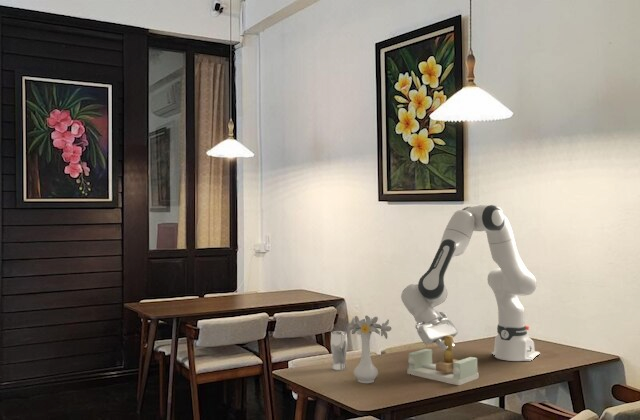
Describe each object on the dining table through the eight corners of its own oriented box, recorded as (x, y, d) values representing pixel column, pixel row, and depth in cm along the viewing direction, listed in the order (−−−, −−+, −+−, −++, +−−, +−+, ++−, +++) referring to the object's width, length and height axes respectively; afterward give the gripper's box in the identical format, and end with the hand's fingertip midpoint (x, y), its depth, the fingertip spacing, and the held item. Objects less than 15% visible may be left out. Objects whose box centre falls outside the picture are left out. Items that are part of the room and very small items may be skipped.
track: (427, 367, 269) (427, 348, 269) (478, 378, 252) (478, 357, 252) (407, 373, 259) (407, 353, 259) (458, 385, 242) (458, 364, 242)
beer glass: (346, 371, 263) (346, 334, 263) (329, 370, 265) (329, 334, 265) (348, 367, 270) (348, 331, 270) (332, 366, 272) (332, 330, 271)
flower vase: (396, 380, 249) (395, 316, 249) (358, 388, 239) (357, 321, 238) (374, 373, 260) (374, 311, 259) (337, 380, 249) (337, 316, 249)
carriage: (450, 365, 259) (450, 333, 259) (461, 368, 255) (461, 335, 255) (435, 370, 252) (435, 337, 252) (446, 372, 248) (446, 339, 248)
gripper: (418, 319, 251) (439, 348, 244) (447, 312, 265) (468, 339, 259) (408, 329, 254) (429, 357, 247) (438, 321, 269) (459, 349, 262)
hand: (449, 348), depth 253 cm, fingers closed on carriage, 3 cm apart
